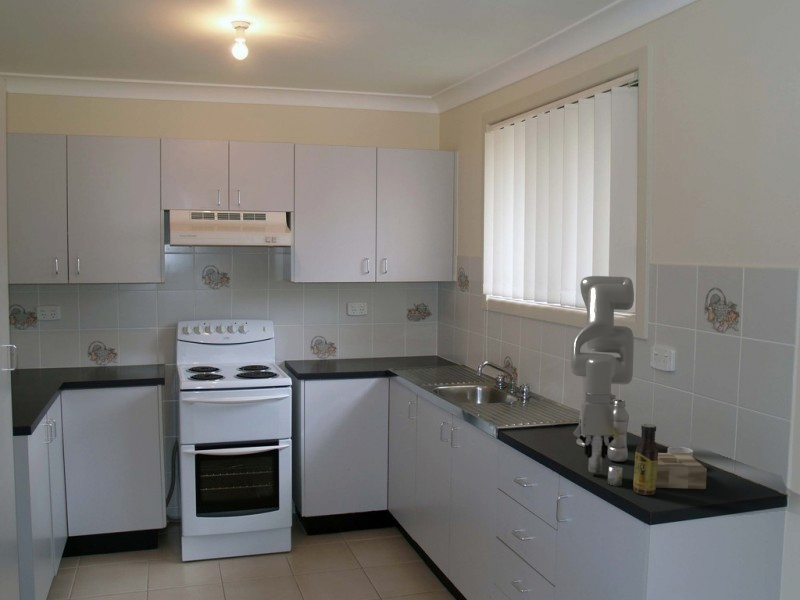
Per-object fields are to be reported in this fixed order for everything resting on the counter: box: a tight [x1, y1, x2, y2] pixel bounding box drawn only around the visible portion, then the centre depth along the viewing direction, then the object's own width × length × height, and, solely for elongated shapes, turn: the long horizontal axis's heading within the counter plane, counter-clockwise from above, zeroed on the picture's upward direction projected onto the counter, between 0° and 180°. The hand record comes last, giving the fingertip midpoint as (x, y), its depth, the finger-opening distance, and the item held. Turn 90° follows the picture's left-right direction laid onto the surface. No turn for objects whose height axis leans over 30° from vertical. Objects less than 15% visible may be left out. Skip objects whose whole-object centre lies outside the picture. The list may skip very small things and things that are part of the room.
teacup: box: [667, 446, 694, 458], centre depth 247 cm, size 10×8×5 cm
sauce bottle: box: [632, 423, 659, 496], centre depth 219 cm, size 6×6×20 cm
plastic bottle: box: [607, 399, 630, 463], centre depth 251 cm, size 6×7×20 cm
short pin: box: [607, 465, 623, 487], centre depth 227 cm, size 4×4×5 cm
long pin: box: [587, 435, 603, 474], centre depth 235 cm, size 4×4×12 cm
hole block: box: [656, 452, 708, 490], centre depth 232 cm, size 16×16×6 cm
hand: (595, 456), depth 235 cm, fingers closed on long pin, 4 cm apart
